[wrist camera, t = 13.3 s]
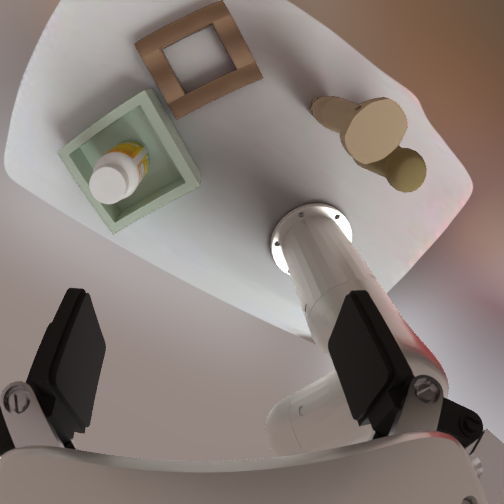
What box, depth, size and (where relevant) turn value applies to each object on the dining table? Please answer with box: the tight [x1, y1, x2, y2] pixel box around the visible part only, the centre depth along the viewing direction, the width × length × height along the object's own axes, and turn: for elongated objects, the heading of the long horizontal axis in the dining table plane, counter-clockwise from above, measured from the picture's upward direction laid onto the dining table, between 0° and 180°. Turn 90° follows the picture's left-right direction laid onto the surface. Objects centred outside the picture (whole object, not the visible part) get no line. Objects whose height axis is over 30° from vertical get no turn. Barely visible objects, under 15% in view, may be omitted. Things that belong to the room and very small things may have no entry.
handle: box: [310, 96, 407, 164], centre depth 29 cm, size 5×6×15 cm
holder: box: [134, 0, 263, 120], centre depth 29 cm, size 11×11×2 cm
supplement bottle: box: [89, 140, 150, 204], centre depth 31 cm, size 5×5×10 cm
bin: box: [57, 88, 201, 234], centre depth 34 cm, size 13×13×4 cm
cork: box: [353, 145, 426, 192], centre depth 34 cm, size 6×6×11 cm
